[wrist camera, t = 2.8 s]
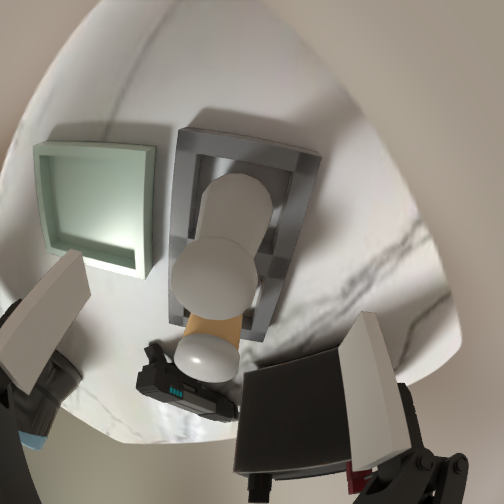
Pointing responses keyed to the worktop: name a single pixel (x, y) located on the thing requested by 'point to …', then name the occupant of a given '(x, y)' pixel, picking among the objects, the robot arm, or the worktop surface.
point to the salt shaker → (224, 249)
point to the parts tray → (97, 202)
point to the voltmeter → (294, 425)
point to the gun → (181, 389)
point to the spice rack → (266, 259)
